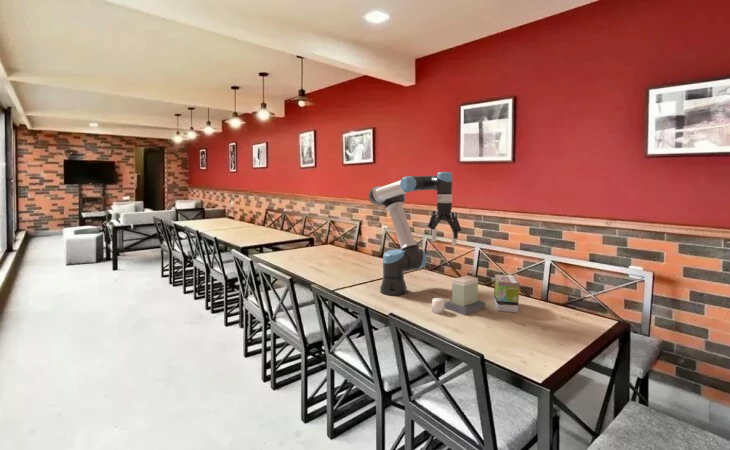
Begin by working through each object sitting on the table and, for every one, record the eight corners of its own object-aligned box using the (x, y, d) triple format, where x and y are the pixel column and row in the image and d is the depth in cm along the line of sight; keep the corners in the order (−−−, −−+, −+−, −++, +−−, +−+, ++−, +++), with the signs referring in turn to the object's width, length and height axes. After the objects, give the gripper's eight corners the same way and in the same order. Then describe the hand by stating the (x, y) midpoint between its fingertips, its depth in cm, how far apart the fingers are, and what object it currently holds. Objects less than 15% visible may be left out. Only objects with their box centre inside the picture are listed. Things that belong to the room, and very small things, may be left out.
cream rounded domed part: (429, 311, 194) (429, 299, 193) (437, 308, 197) (437, 297, 197) (438, 314, 189) (439, 302, 188) (447, 311, 193) (447, 300, 192)
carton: (452, 302, 197) (452, 279, 195) (466, 298, 204) (466, 275, 202) (463, 306, 191) (463, 282, 190) (477, 301, 198) (478, 278, 196)
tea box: (518, 312, 191) (520, 282, 189) (496, 311, 193) (497, 281, 191) (513, 302, 205) (514, 274, 203) (493, 301, 207) (494, 273, 205)
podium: (444, 307, 198) (444, 302, 198) (464, 301, 208) (464, 295, 207) (465, 315, 188) (465, 309, 188) (485, 307, 198) (485, 301, 197)
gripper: (421, 201, 210) (421, 240, 213) (459, 204, 191) (458, 247, 194) (431, 200, 215) (430, 239, 218) (469, 203, 195) (468, 245, 198)
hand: (443, 243), depth 206 cm, fingers open, 13 cm apart
